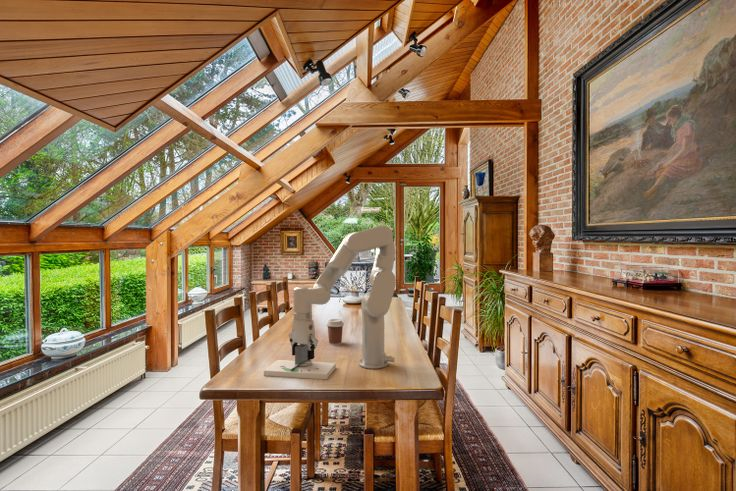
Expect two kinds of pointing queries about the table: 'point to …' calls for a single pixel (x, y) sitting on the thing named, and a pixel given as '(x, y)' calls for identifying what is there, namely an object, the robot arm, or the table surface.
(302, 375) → the dial board
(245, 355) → the table surface
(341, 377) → the table surface
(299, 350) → the grey boxy piece
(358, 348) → the table surface
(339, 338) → the coffee cup
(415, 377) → the table surface
